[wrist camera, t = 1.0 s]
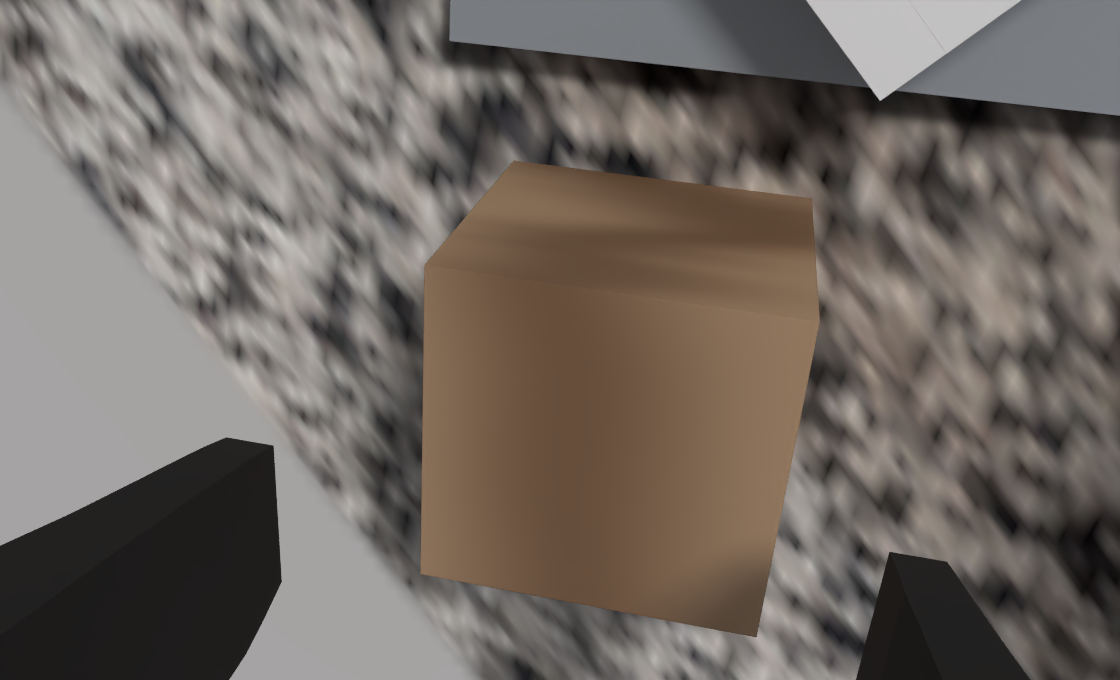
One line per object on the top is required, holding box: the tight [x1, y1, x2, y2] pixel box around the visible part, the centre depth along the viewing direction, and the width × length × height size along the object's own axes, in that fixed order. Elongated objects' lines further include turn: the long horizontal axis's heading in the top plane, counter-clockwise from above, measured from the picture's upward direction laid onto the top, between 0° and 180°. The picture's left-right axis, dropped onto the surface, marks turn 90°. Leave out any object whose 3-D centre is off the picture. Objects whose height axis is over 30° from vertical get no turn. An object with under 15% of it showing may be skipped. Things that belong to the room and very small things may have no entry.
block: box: [421, 161, 820, 637], centre depth 16 cm, size 5×5×5 cm
